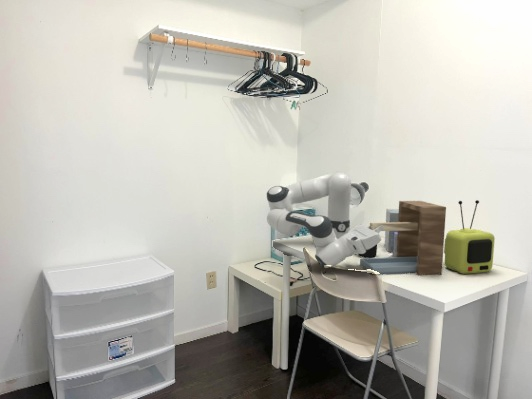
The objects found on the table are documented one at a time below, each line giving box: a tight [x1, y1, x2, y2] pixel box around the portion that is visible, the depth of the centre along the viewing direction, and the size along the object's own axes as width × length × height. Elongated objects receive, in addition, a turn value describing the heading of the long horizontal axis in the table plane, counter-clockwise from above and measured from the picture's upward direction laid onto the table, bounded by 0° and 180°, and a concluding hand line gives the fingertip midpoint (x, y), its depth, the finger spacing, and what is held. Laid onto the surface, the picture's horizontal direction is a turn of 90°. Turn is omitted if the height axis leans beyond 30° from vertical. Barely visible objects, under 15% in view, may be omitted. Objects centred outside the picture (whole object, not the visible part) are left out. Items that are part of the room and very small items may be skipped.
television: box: [443, 199, 495, 275], centre depth 172 cm, size 18×18×30 cm
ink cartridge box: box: [391, 232, 398, 258], centre depth 188 cm, size 10×6×14 cm, turn 78°
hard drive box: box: [384, 208, 399, 253], centre depth 206 cm, size 16×8×20 cm, turn 170°
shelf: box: [396, 200, 447, 276], centre depth 172 cm, size 20×10×28 cm, turn 9°
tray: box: [359, 256, 417, 276], centre depth 173 cm, size 14×27×3 cm, turn 99°
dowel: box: [369, 222, 418, 232], centre depth 170 cm, size 3×20×3 cm, turn 98°
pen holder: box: [357, 244, 378, 258], centre depth 193 cm, size 9×9×10 cm
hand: (379, 225), depth 169 cm, fingers closed on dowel, 3 cm apart
